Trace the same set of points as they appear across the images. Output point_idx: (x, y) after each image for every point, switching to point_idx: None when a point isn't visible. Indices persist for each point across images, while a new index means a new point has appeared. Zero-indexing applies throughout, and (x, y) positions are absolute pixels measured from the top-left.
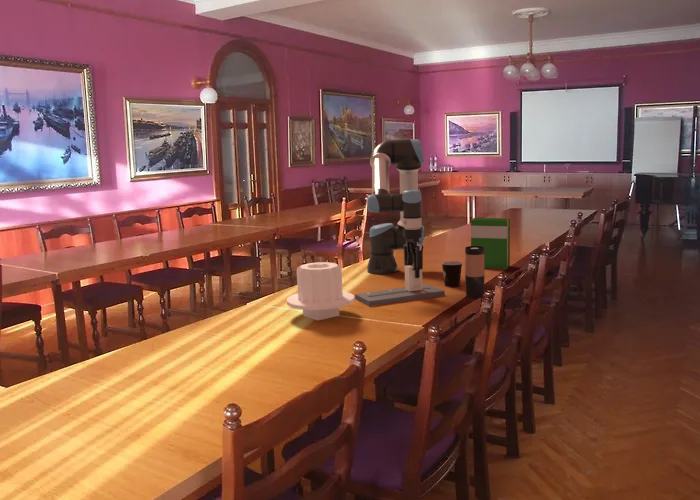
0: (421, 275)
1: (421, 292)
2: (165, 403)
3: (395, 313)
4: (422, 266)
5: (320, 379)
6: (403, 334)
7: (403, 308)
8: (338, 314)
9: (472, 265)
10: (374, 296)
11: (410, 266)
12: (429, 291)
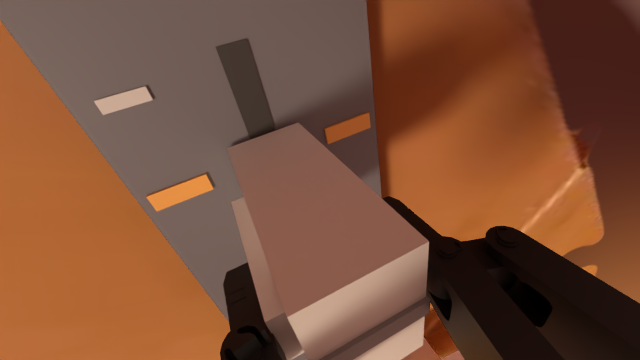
0: (353, 180)
1: (346, 136)
2: None
3: (476, 229)
4: (535, 243)
5: (594, 275)
6: (582, 206)
7: (449, 210)
8: (425, 339)
9: None
10: None
11: (381, 351)
12: (339, 76)
